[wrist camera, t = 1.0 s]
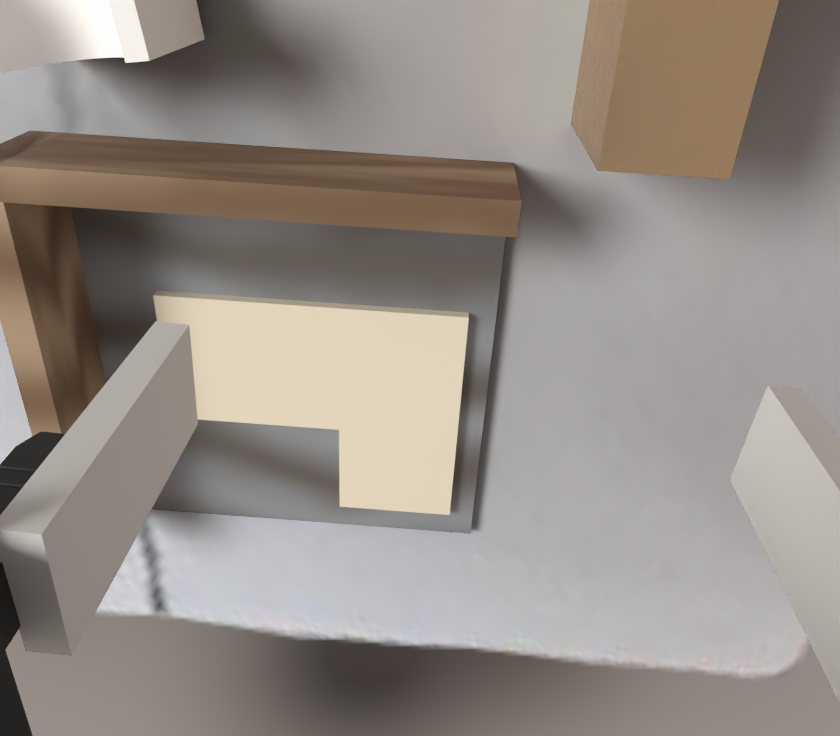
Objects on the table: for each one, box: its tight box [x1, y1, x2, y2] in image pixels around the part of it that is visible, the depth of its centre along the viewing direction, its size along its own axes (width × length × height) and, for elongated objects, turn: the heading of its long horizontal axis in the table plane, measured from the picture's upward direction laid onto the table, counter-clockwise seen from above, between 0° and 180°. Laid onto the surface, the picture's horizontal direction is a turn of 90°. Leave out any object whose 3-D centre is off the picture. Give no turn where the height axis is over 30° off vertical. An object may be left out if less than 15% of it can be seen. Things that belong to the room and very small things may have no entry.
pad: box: [153, 291, 469, 515], centre depth 42 cm, size 14×17×1 cm
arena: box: [0, 131, 522, 533], centre depth 39 cm, size 24×24×6 cm
